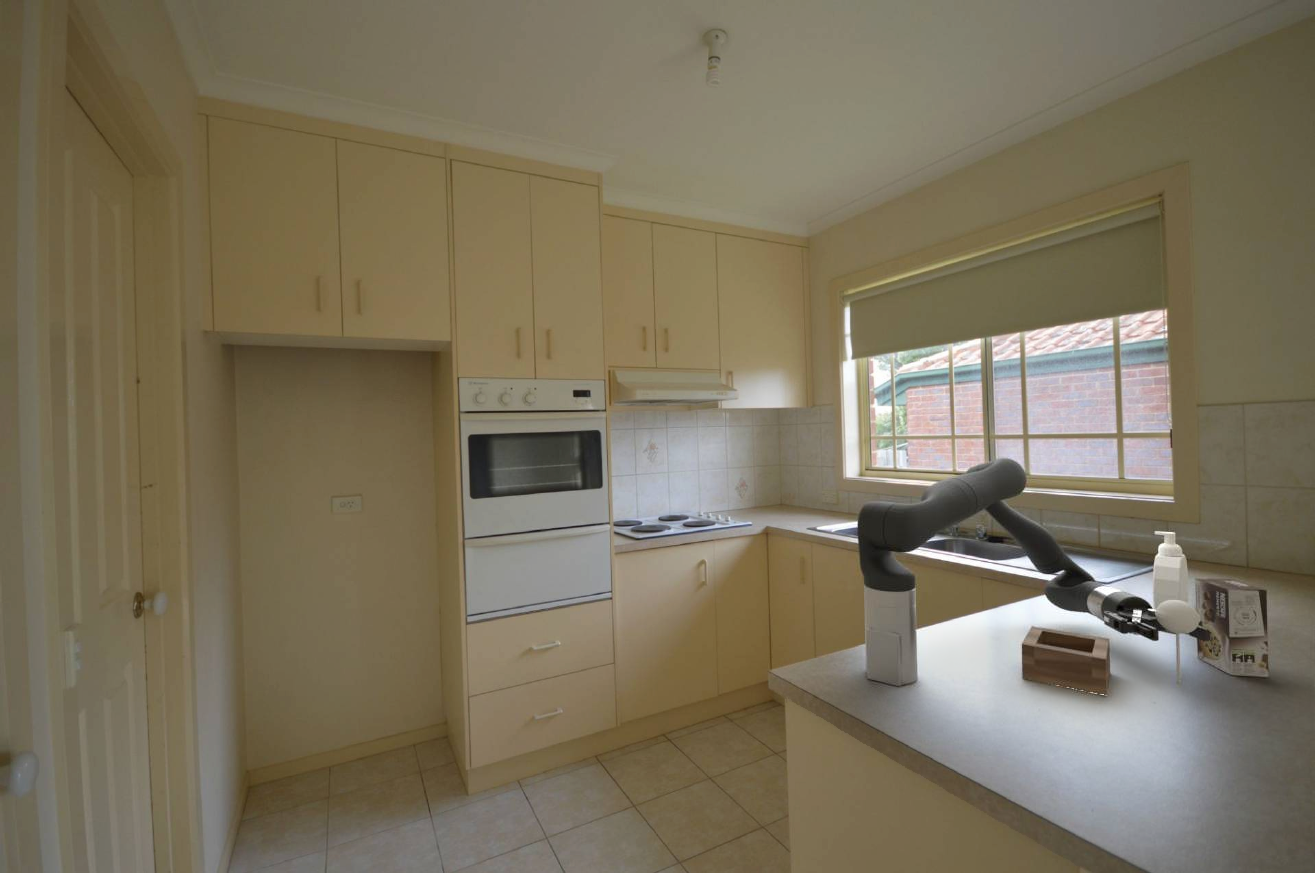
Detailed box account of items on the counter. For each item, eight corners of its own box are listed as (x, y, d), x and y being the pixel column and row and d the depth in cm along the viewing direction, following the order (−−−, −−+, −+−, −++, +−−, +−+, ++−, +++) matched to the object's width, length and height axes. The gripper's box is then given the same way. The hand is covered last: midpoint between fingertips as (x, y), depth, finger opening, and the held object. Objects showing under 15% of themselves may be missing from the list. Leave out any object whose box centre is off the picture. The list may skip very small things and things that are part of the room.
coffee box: (1271, 677, 107) (1269, 590, 107) (1229, 675, 108) (1227, 589, 108) (1233, 658, 116) (1231, 577, 116) (1195, 657, 117) (1193, 577, 117)
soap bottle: (1161, 603, 152) (1159, 527, 152) (1188, 607, 148) (1187, 529, 148) (1151, 617, 141) (1149, 535, 141) (1180, 622, 137) (1178, 538, 137)
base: (1106, 696, 101) (1105, 659, 101) (1022, 678, 109) (1021, 643, 109) (1110, 672, 111) (1109, 638, 111) (1032, 657, 119) (1031, 626, 119)
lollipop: (1191, 678, 107) (1189, 597, 107) (1209, 691, 102) (1207, 606, 102) (1150, 674, 109) (1148, 594, 109) (1165, 687, 104) (1163, 603, 104)
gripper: (1082, 590, 121) (1139, 614, 105) (1155, 590, 120) (1224, 614, 104) (1082, 626, 121) (1140, 656, 105) (1156, 627, 120) (1225, 657, 104)
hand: (1182, 635), depth 105 cm, fingers open, 8 cm apart
